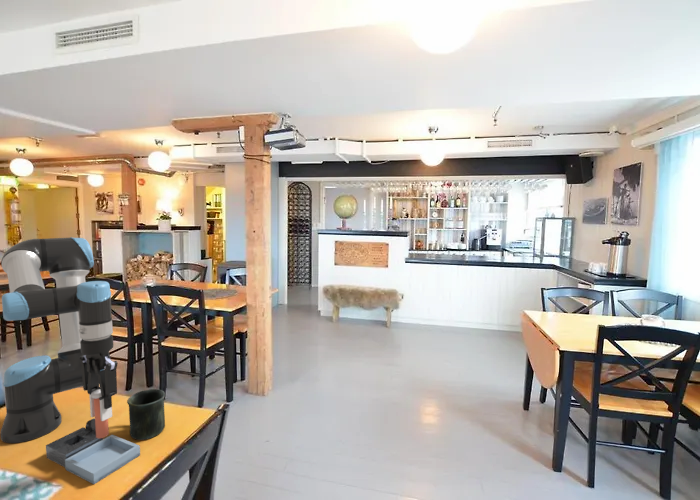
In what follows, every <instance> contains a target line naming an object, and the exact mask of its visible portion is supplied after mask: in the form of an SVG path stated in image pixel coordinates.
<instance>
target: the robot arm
mask: <svg viewBox="0 0 700 500" xmlns="http://www.w3.org/2000/svg"><path fill="white" fill-rule="evenodd" d="M0 261H1V262H0V263H1V264H0V266H1V268H2V271H3V272H4V273H5V274H6V275H7V279H8V281H7V282H8V288H9V292H7V293H4V294H3V295H1V306H2V307H1V308H2V316H3V317H2V318H3V320H4V321H7V322H11V321H24V320H30V319H35V318H43V317H50V316H54V315H55V316H56V315H57V316H58V315H59V316H58V317H59V324H60V334H61V335H60V336H61V344H62V347H61V348H60V349H59V350H58V351H57V357H56V358H51V356H49V355H46V354H45V355H44V354H43V355H35V356H33V357H32V356H31V357H29V358H25V359H22V360H20V361H18V362H16V363H13V364H12V365H10V366H8V367H7V368H6V369H5V371H4V373H3V383H2V385H3V387H4V396H5V397H4V398H5V410H6V414H5V417H4V419H3V423H2V427H1V429H0V440H1V441H2V442H3V443H5V444H16V443H17V444H19V443H23V442H24V443H25V442H28V441H32V440H35V439H38V438H40V437H43V436H45V435H47V434H48V435H49V434H50V433H51V432H53V431H54V430H56V429H57V428H59V427H60V425H61V424H62V414H61V412H60V410H59V409H58V407H57V405H56V403H55V401H54V395H55V394H58V393H59V394H60V393H63V392H66V391H70V390H75V389H78V388H81V387H83V388H82V389H83V391H85V392H86V391H87V394H88V395H89V397H88V398H89V408H90V409H89V412H90V417H91V418H95V411H94V398H92V397H91V393H92V392H93V391H95V390H98V389H100V391H101V396H102V397H100V398H99V400H100V414H101V421H104V420H106V419H108V420H109V419H110V418H112V417H113V403H112V402H113V400H112V398H113V396H116V395H117V393H118V384H117V383H118V381H117V380H118V378H117V377H118V376H117V369H118V365H119V364H118V361H117V360H114V361H112V360H111V354H110V351H111V350H112V349H114V336H113V335H112V334H114V330H113V329H114V327H113V319H112V317H113V316H112V298H111V297H112V291H111V287H110V286H111V284H110V283H109V282H108V281H105V280H92V281H87V280H86V276H87V275H88V274H89V273H90V269H91V268H94V265H95V261H94V255H93V250H92V247H91V245H90V242H89V241H88V240H87V239H86V238H84V237H72V236H71V237H54V238H30V239H26V240H23V241H21V242H18V243H16V244H14V245H12V246H11V247H10V248H8V250H6V251H5V253H4V254H3V255H2V257H1V260H0ZM41 272H49V277H50V278H52V279H54V280H55V284H56V285H55V286H56V287H54V288H45V283H44V280H43V278H42V274H41Z"/></svg>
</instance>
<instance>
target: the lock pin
mask: <svg viewBox="0 0 700 500" xmlns="http://www.w3.org/2000/svg"><path fill="white" fill-rule="evenodd" d="M91 397H92V398H94V411H95V416H94V418H95V427H96V438H103V439H105V438H106V437H108V435H109V434H110V433H109V429H110V428H109V418H108V419H106V420H104V421H101V414H100V400H99V398H100V397H102V396H101V391H100V389H98V390H95V391H93V392H92V393H91Z"/></svg>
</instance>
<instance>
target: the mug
mask: <svg viewBox="0 0 700 500" xmlns="http://www.w3.org/2000/svg"><path fill="white" fill-rule="evenodd" d="M165 396H166V393H165V391H164V390H162V389H159V388H153V389H151V388H150V389H144V390H142V391H138V392H136V393H134V394H131V396H129V397H128V398H127V401H126V404H127V405H128V415H129V419H128V420H129V435H130V437H131V438H132V439H134V440H136V441H137V440H138V441H143V440H148V439H153V438H155V437H156V436H159V435H160V434H161V433H163V431H164V429H165V427H166V418H165Z"/></svg>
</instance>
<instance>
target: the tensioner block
mask: <svg viewBox="0 0 700 500" xmlns="http://www.w3.org/2000/svg"><path fill="white" fill-rule="evenodd" d="M103 439H104V438H96V427H95V417H92V419H90V420H88V421H87V422H86V424H85V427H81V428H79V429H76V430H75V431H72V432H71V433H68V434H66V435H64V436H62V437H60V438H57V439H56V440H53V441H52V442H50V443H47V444H46V445H45V451H46V452H45V453H46V459H48V460H49V461H51V462H54V463H55V464H57V465H59V466H62V467H64V468H65V460H66V459H67V458H69V457H71V456H73V455H75V454H77V453H79V452H80V451H82V450H84V449H86V448H88V447H90V446H92V445H93V444H95V443H97V442H99V441H101V440H103Z"/></svg>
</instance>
